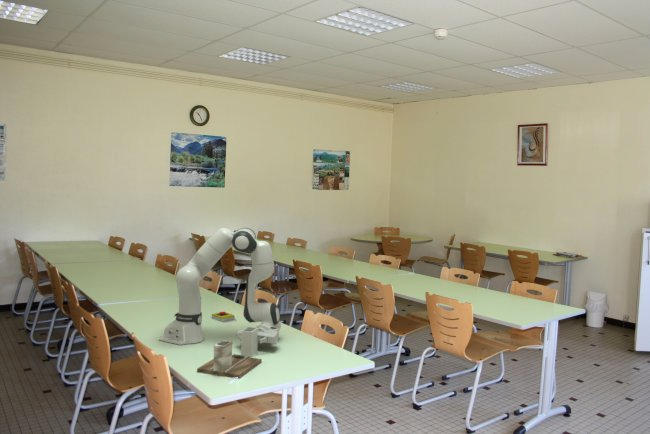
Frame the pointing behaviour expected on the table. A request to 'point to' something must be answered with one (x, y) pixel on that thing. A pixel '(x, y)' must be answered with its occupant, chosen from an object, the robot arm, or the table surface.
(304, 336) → the table surface
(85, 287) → the table surface
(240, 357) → the rail board
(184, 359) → the table surface
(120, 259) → the table surface
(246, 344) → the grey module block
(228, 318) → the emergency button
